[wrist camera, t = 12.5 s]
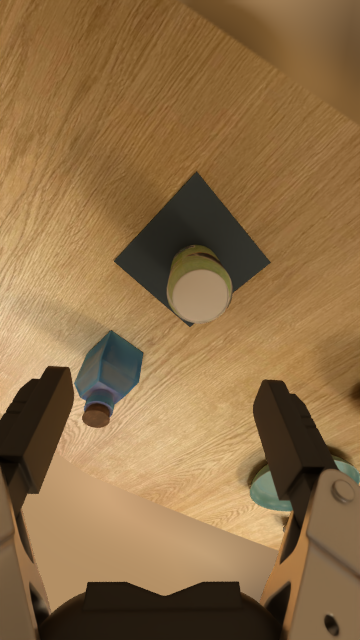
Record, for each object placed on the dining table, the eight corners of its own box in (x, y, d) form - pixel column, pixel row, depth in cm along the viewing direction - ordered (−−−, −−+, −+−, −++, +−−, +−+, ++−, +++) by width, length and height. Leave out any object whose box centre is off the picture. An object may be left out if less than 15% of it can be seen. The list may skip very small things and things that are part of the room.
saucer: (230, 465, 59) (232, 481, 56) (338, 430, 53) (348, 446, 50) (267, 506, 70) (271, 520, 68) (360, 481, 64) (369, 496, 61)
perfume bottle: (118, 373, 43) (101, 441, 33) (87, 353, 41) (58, 420, 30) (143, 352, 41) (133, 418, 31) (111, 330, 38) (88, 393, 28)
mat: (113, 260, 33) (113, 261, 32) (196, 171, 28) (196, 171, 27) (189, 326, 38) (189, 327, 38) (270, 262, 33) (270, 262, 33)
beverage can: (181, 294, 35) (184, 350, 25) (158, 243, 31) (151, 285, 21) (225, 277, 34) (247, 330, 24) (208, 223, 30) (225, 258, 20)
